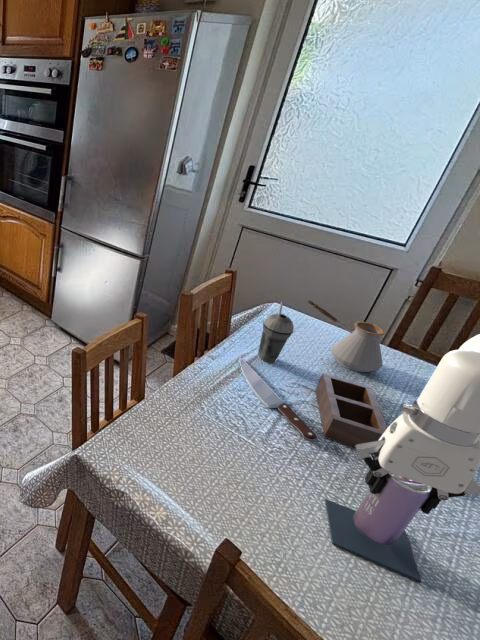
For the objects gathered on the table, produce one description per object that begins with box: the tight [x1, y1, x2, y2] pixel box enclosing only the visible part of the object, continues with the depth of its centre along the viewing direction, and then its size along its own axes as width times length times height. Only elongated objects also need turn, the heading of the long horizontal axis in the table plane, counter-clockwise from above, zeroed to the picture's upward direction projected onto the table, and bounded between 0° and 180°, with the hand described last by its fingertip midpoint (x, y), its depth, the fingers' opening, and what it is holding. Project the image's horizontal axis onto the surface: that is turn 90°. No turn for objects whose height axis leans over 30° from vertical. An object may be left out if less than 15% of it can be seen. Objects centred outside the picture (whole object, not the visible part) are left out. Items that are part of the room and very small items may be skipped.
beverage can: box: [353, 472, 432, 545], centre depth 74 cm, size 6×6×15 cm
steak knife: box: [238, 356, 317, 442], centre depth 111 cm, size 5×31×2 cm, turn 179°
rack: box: [314, 372, 388, 456], centre depth 102 cm, size 18×10×6 cm, turn 148°
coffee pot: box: [303, 300, 386, 373], centre depth 123 cm, size 21×12×15 cm, turn 38°
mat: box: [324, 498, 422, 583], centre depth 78 cm, size 12×10×1 cm
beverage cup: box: [257, 301, 295, 364], centre depth 121 cm, size 7×7×20 cm
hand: (396, 496), depth 73 cm, fingers closed on beverage can, 6 cm apart
